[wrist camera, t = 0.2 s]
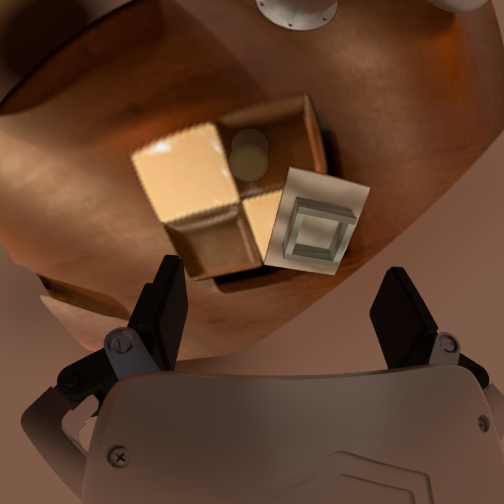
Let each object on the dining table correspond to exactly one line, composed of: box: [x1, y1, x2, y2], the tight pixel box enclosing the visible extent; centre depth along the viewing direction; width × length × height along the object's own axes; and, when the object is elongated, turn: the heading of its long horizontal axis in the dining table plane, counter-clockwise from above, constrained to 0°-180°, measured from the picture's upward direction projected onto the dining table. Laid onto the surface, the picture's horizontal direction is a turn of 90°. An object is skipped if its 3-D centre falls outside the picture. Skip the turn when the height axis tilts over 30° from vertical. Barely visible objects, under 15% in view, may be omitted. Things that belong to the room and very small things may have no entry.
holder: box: [264, 166, 370, 275], centre depth 49 cm, size 20×15×5 cm
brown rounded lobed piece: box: [229, 129, 269, 181], centre depth 38 cm, size 6×6×11 cm
